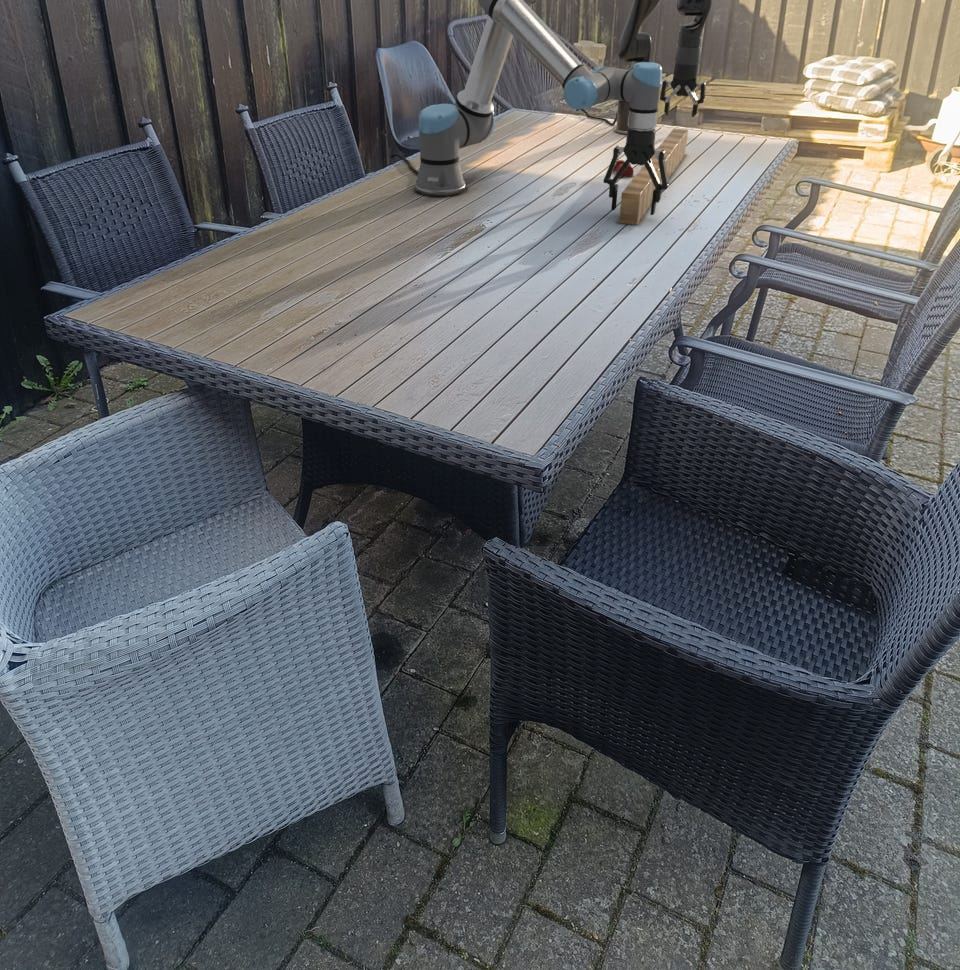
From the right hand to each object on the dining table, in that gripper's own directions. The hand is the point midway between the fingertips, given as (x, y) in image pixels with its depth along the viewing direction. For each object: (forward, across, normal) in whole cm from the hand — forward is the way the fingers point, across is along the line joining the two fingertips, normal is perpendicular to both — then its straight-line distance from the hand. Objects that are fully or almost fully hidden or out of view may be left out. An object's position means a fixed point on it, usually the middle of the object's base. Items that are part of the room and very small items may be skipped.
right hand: (680, 115), depth 279 cm
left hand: (+12, 0, +66) cm, 67 cm away
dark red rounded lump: (+14, +13, +25) cm, 31 cm away
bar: (+14, 0, +33) cm, 36 cm away
